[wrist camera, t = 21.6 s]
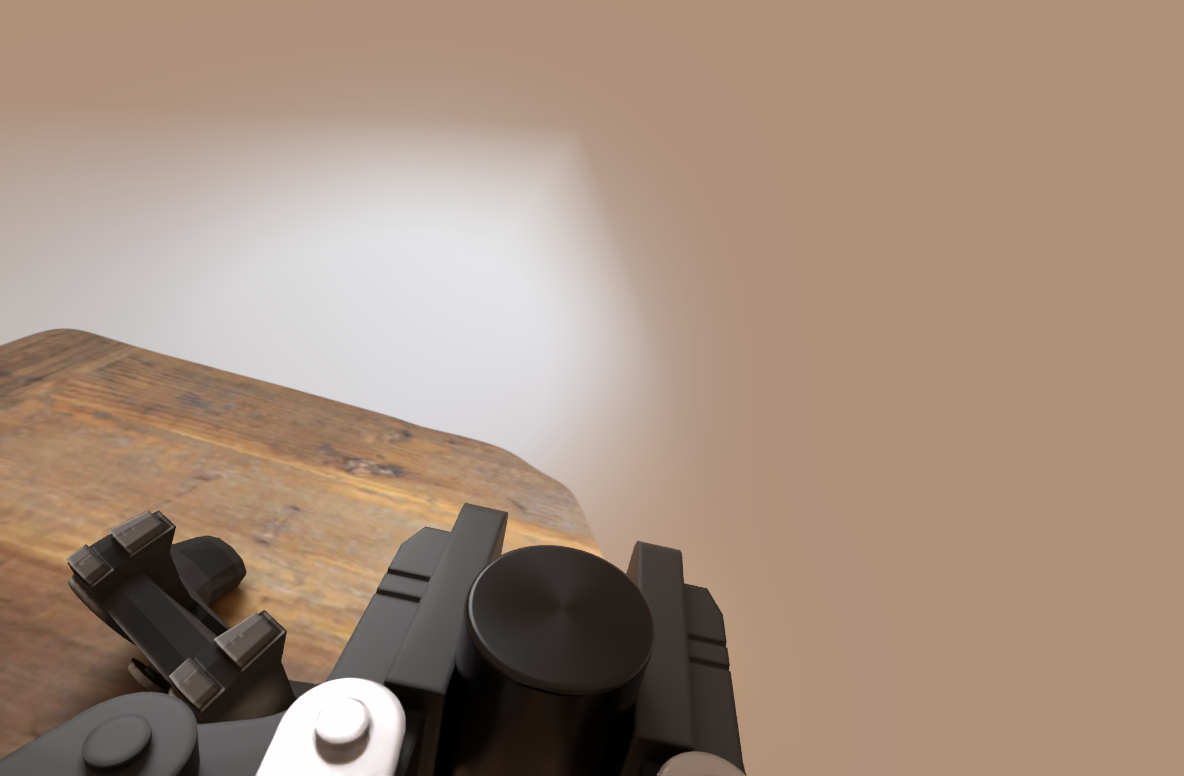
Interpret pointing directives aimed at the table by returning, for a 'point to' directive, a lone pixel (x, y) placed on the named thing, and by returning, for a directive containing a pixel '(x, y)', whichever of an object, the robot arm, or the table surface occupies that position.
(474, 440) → the table surface
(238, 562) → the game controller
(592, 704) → the dark round peg
